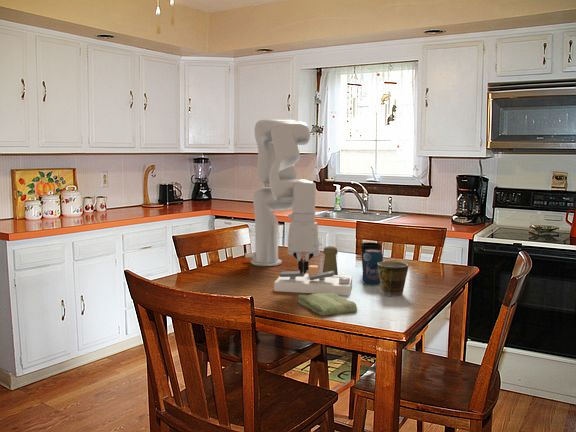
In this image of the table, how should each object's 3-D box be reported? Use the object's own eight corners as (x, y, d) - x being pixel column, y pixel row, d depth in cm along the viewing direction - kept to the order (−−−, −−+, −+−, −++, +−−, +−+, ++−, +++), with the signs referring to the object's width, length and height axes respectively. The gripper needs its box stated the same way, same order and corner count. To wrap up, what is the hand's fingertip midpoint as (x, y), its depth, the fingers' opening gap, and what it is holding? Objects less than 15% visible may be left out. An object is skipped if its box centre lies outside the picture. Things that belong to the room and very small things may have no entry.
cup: (357, 276, 207) (357, 244, 205) (364, 272, 213) (364, 241, 212) (376, 278, 203) (377, 246, 202) (383, 274, 210) (384, 243, 208)
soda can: (367, 286, 191) (368, 252, 190) (359, 281, 198) (360, 249, 196) (385, 285, 193) (386, 251, 192) (377, 280, 200) (378, 248, 198)
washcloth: (332, 298, 177) (332, 288, 177) (360, 313, 161) (360, 303, 160) (294, 302, 172) (294, 292, 171) (320, 318, 156) (320, 307, 155)
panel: (274, 291, 184) (274, 277, 183) (282, 280, 198) (282, 268, 198) (349, 295, 179) (349, 281, 179) (352, 284, 194) (352, 271, 194)
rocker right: (310, 280, 183) (309, 277, 183) (311, 277, 187) (310, 274, 187) (333, 275, 182) (332, 272, 182) (334, 273, 186) (333, 270, 186)
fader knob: (308, 275, 192) (308, 266, 192) (309, 273, 195) (309, 265, 194) (316, 275, 191) (317, 267, 191) (317, 273, 194) (318, 265, 194)
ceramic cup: (386, 288, 189) (387, 259, 188) (412, 293, 183) (413, 263, 181) (366, 295, 179) (367, 265, 178) (393, 301, 173) (394, 270, 171)
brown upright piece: (337, 277, 204) (337, 248, 203) (321, 276, 206) (321, 247, 204) (338, 273, 210) (339, 245, 209) (323, 273, 211) (323, 244, 210)
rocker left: (280, 277, 185) (279, 273, 185) (282, 274, 189) (282, 271, 189) (303, 276, 183) (303, 273, 183) (305, 273, 187) (305, 270, 187)
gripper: (279, 218, 181) (279, 273, 183) (325, 220, 178) (324, 275, 180) (283, 216, 188) (283, 269, 190) (327, 217, 186) (326, 271, 188)
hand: (303, 272), depth 185 cm, fingers closed
